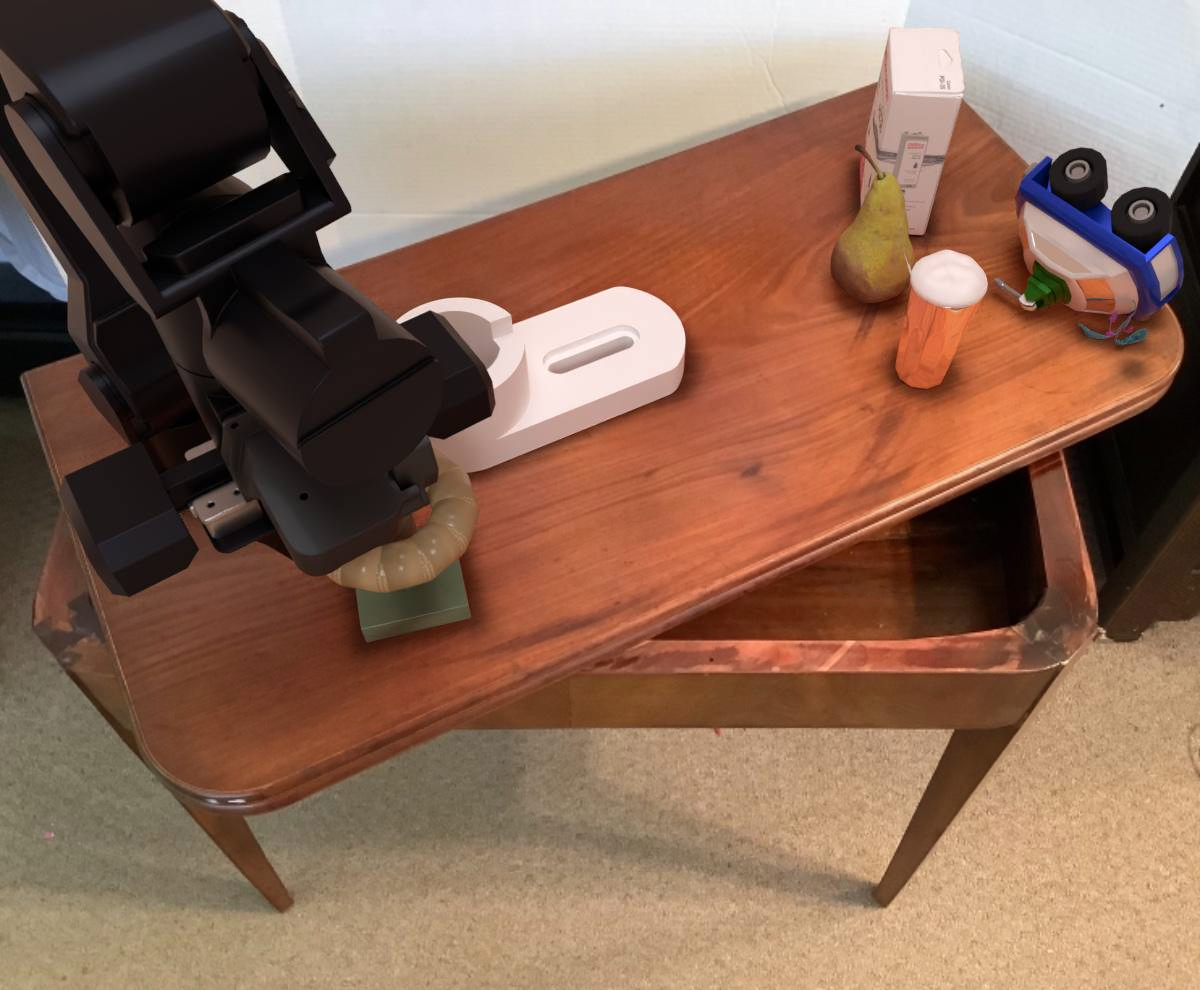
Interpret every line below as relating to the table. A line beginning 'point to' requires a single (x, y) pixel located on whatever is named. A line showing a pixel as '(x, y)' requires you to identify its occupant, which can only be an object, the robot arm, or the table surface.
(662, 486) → the table surface
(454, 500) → the segmented ring
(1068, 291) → the toy car
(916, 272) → the beer glass
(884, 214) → the fruit
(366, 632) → the stand
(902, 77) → the ink box
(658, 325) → the bracket
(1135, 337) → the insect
